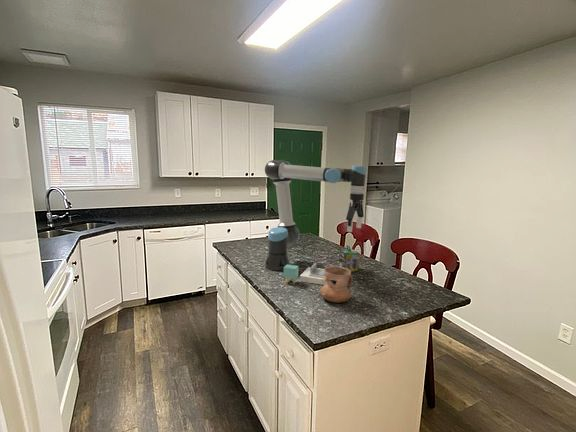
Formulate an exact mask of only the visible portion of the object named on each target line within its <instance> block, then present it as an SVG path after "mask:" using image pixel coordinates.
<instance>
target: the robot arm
mask: <svg viewBox="0 0 576 432" xmlns="http://www.w3.org/2000/svg"><path fill="white" fill-rule="evenodd" d="M366 171H367V170H366V166H364V165H352V167H351V168H341V167H340V168H339V167H336V168H333V167H323V166H322V167H320V166H319V167H318V166H311V165H310V166H309V165H308V166H305V165H296V164H291V163H290V162H289V161H287V160H284V159H280V160H279V159H272V160H270V161H268V162H267V163H266V164H265V166H264V174H265V175H266V177H268V178H269V179H270V180H272V184H274V185H275V192H276V201H277V208H278V209H277V211H278V218H279V220H278V221H279V223H278V224H277V226H276V227H273V228H271V229H269V231H268V237H267V240H268V241H267V245H268V249H267V257H266V259H265V262H264V267H265V269H267V270H270V271H279V272H280V271H284V267H285V266H286V265H287V264H288V265H291V264H290V259H289V256H288V247H289V246H291V245H294V244H295V243H297V242H298V241H299V238H300V230H299V228H297V224H296V222H294V219H293V218H294V217H293V216H294V215H293V209H292V199H291V191H290V190H291V188H290V184H291V182H292V179H296V180H305V181H316V182H325V183H331V184H334V183H335V184H336V183H350V190H349V192H350V194H349V200H350V201H351V202H349V205H348V210H347V215H346V217H345V218H346V219H345V220H346V221H347V227H346V228H347V229H346V232H348V233H353V225H354V220H353V219H354V216H355V214H357V217H356V226H355V227H356V228H357V229H362V223H363V222H362V221H363V220H362V219H363V218H364V206H363V205H364V203H363V201H364V199H365V198H364V195H365V194H364V192H365V190H366V188H365V183H366Z"/></svg>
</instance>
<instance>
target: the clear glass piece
mask: <svg viewBox="0 0 576 432" xmlns="http://www.w3.org/2000/svg"><path fill="white" fill-rule="evenodd" d="M317 266H318V264H317V263H316V262H314V263H313V264H312V266H311V270H310V274H313V275H320V276H324V270H321V269H322V268H321V269H316V268H318V267H317Z"/></svg>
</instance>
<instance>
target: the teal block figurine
mask: <svg viewBox="0 0 576 432" xmlns="http://www.w3.org/2000/svg"><path fill="white" fill-rule="evenodd" d="M299 268H300V267H299V265H295V264H294V265H293V264H290V265H288V264H287V265H286V266H285V267H284V270H283V278H285V282H284V283H285V284H288V283H289V282H290V281H291V280H292V284H295V283H296V282H297V278H298V277H299V270H300V269H299Z"/></svg>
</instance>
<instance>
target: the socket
mask: <svg viewBox="0 0 576 432" xmlns="http://www.w3.org/2000/svg"><path fill="white" fill-rule="evenodd" d="M316 269H321V270H324V269H325V268H322V267H321V268H320V267H319V268H318V267H317V268H316ZM310 270H311V267H310V266H308V267H307V268H306V269H305V270H304V271H303V272H302V273H301V274H300V275H299V282H304V283H310V284H314V285H321V286H324V285H326V284H327V282H326V281H325V282H322V281H321V279H323V278H325V275H324V276H320V275H313V274H310Z"/></svg>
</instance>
